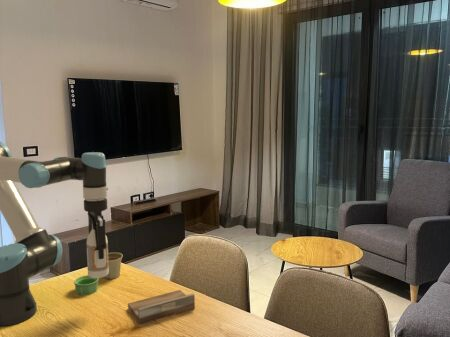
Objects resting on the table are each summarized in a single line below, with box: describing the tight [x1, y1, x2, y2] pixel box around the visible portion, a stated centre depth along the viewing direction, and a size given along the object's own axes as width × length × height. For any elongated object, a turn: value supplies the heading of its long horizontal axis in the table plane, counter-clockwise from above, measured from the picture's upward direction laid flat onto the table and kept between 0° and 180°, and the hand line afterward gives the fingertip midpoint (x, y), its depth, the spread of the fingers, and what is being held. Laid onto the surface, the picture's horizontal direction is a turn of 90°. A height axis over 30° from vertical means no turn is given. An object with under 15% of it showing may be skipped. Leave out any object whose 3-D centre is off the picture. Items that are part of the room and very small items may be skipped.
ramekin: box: [73, 274, 100, 296], centre depth 153 cm, size 9×9×4 cm
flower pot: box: [104, 252, 123, 280], centre depth 166 cm, size 9×9×9 cm
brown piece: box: [127, 289, 196, 325], centre depth 138 cm, size 12×20×5 cm, turn 121°
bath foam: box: [86, 226, 109, 279], centre depth 136 cm, size 7×7×20 cm
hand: (98, 263), depth 137 cm, fingers closed on bath foam, 7 cm apart
